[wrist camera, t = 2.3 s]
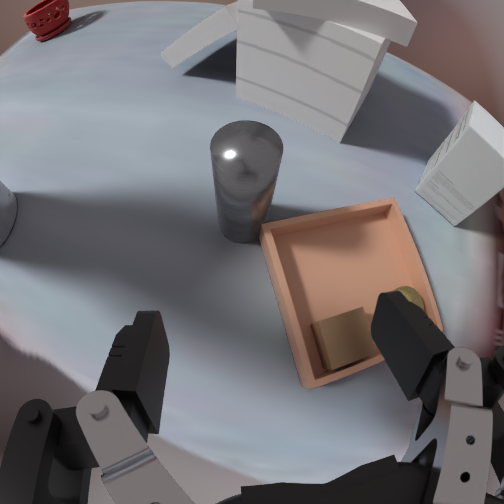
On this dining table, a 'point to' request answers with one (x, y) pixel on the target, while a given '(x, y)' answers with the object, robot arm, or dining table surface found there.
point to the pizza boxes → (304, 54)
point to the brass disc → (411, 295)
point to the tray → (339, 274)
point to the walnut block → (343, 338)
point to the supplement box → (465, 166)
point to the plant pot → (48, 18)
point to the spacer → (244, 177)
